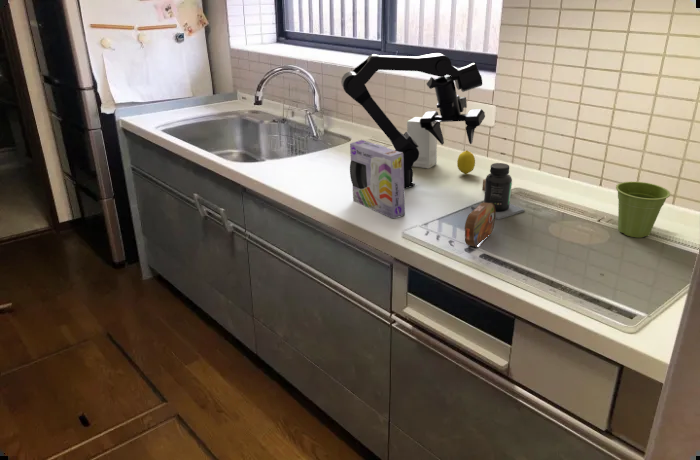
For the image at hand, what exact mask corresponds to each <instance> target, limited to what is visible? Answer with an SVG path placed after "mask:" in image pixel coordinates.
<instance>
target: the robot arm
mask: <svg viewBox="0 0 700 460" xmlns="http://www.w3.org/2000/svg"><path fill="white" fill-rule="evenodd" d="M380 70H381V71H399V72H400V71H401V72H403V71H405V72H406V71H408V72H420V73H424V74H427V75H430V78H429V80H428V81H427V82H426V86H427V87H428V89H430V90H431V89H434V91H435V95H436V96H435V97H436V101H437V104H436V108H437V109H438V110H439V112H438V111H437V110H434V111H426V112H425V113H424V114H423V115H422V116H421V117H422V118H421V119H420V126H421V128H425V130H428V131H429V132H430V133H431V134H432V135H433V136H434V137H435V138H436V139H437V142H439V143H440V145H444V144H445V141H444V140H445V139H444V136H443V132H442V129H441V128H442V127H441V123H447V122H452V123H453V122H464V123H465V131H466V136H467V139H468V143H469V144H470V145H472V144H473V141H474V137H475V136H474V135H475V129H477V127H480V125H481V124H482V122H483V121H484V119H485V118H486V114H485V111H484V110H483V109H481V108H478V109H477V108H475V109H470V110H469V111H468V113H465V114H463V112H464V108H465V109H466V108H467V107H468V105H467V97H466V96H461V97H460V95H459V94H457V91H459V90H461V92H462V93H464V92H467V91H471V90H472V89H473V90H474V89H476V88H479V87H482V86H483V78H482V75H481V74H480V70H479V69H478V67H477V64H476V63H475V62H472V63H469V64H468V65H466V66H462V67H460V68H457V67H456V66H454V65H452V61H451V59H450V58H449V57H448V56H447V55H444V54H443V53H440V52H434V53H429V54H423V55H417V56H413V55H412V56H411V55H410V56H409V55H408V56H407V55H385V54H383V55H382V54H380V55H379V54H375V53H373V54H371V55H369V56H368V57H367V58H365V60H364V61H362V62H361V63H360V64H358V65H357V66H356V67H355V68H354V69H353V70H351V71H347V72H346V73H344V74H343V76H342V77H341V81H340V82H341V86H342V88H343V90H344V92H345V93H346V94H347V95H348V96H350V97H349V98H352V99H353V100H354V101H356V103H357V104H359V105H361V106H362V107H363V109H364V111H366V112H367V113H368V115H369V116H370V117H371V119H372V120H373V121H374V122H375V123H376V125H377V126H378V127H379V129H380V130H381V131H382V132H383V133H384V134H385V136H386V138H388V139H389V140H390V142H391V144H392V146H393V148H394V150H395V151H398V152H402V153H403V158H404V189H407V188H411V187H415V186H416V184H415V183H413V180H414V179H413V178H414V175H413V174H414V172H413V171H414V170H413V169H414V168H413V167H414V166H413V163H414V162H415V161H416V160H417V159H418V157H419V151H418V149H417V148H416V147H418V145H417V144H416V142H415V141H414V140H412V138H411V137H410V135H409V134H408V133H407V131H405V132H404V134H403V133H402V132H401V131H400V130H398V128H397V127H396V125H395V124H394V123H393V122H392V121H391V119H390V118H389V117H388V116H387V114H386V113H385V112H384V111H383V109H382V108H381V107H380V106H379V104H378V103H377V102H376V101H375V99H374V98H373V97H372V96H371V93H370V92H369V90H368V88H367V86H366V84H367V83H368V82H369V81H370V80H371V78H373V76H374V75H375V74H376V72H378V71H380ZM431 75H432V76H436V78H435V77H432V76H431ZM456 89H457V90H456ZM439 113H440V115H439ZM461 113H462V114H461Z"/></svg>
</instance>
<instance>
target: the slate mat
mask: <svg viewBox="0 0 700 460" xmlns="http://www.w3.org/2000/svg"><path fill="white" fill-rule="evenodd" d="M481 203H482V202H480V203H476V204H473V205H471V206H470V209H472V208H473V209H472V210H474V209H475V208H476V207H477V206H478V205H480V204H481ZM523 212H525V208H522V207H520V206H517V205H515V204H513V203H510V206H509V209H508V210H506V211H503V212H496V217H495V218H496V219H495V220H497V219H498V220H501V219H504V218H508V217H510V216H513V215H517V214H520V213H523Z"/></svg>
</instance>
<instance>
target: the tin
mask: <svg viewBox="0 0 700 460" xmlns="http://www.w3.org/2000/svg"><path fill="white" fill-rule="evenodd" d="M480 203H481V204H480ZM480 203H479V204H480V205H478V206H477V207H476V208H475V209H472V210H471V212H470V213H469V214H468V215H467V218H466V220H465V223H464V224H465V225H464V242H465V244H466V245H467V246H469V245H470V246H471V247H474V246H475V248H478V247H477V245H478V244H479V243H480V242H481V241H482V240H484V239H485V238H486V237H488V235H490V234H491V235H492V233H493V231H494V227H495V224H496V219H495V217H496V211H495V206H494V204H493V203H485V202H484V201H483V202H480ZM491 235H490V236H491ZM488 238H489V237H488Z"/></svg>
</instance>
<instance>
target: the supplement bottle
mask: <svg viewBox="0 0 700 460" xmlns="http://www.w3.org/2000/svg"><path fill="white" fill-rule="evenodd" d="M509 173H510V165H509V164H507V163H502V162H495V163H491V164H490V169H489V173H488V174H487V175H486V177H485V179H486V182H485V191H484V199H483V202H485V203H493V204H494V206H495V211H496V212H503V211H506V210H508V209H509V206H510V204H511V195H512V194H511V193H512V185H513V178H512V176H511V175H510V174H509Z"/></svg>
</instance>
